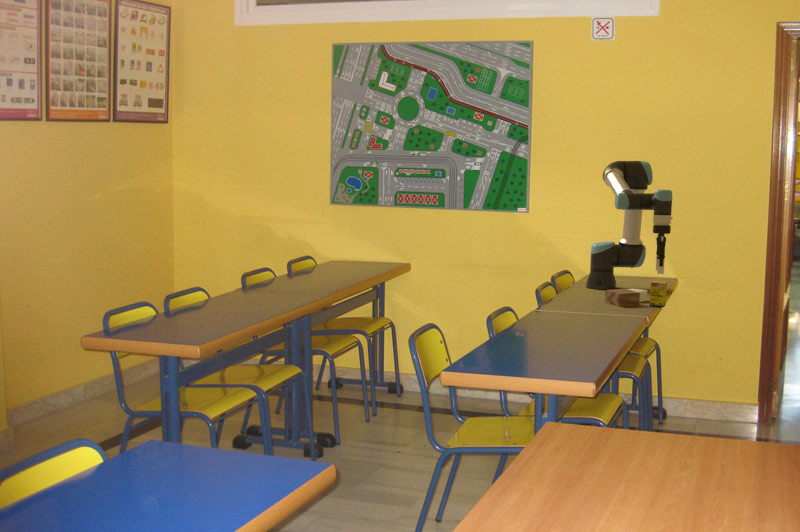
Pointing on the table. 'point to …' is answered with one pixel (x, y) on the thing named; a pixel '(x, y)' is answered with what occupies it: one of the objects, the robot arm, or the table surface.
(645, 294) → the off-white block
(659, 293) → the supplement box
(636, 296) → the walnut block
